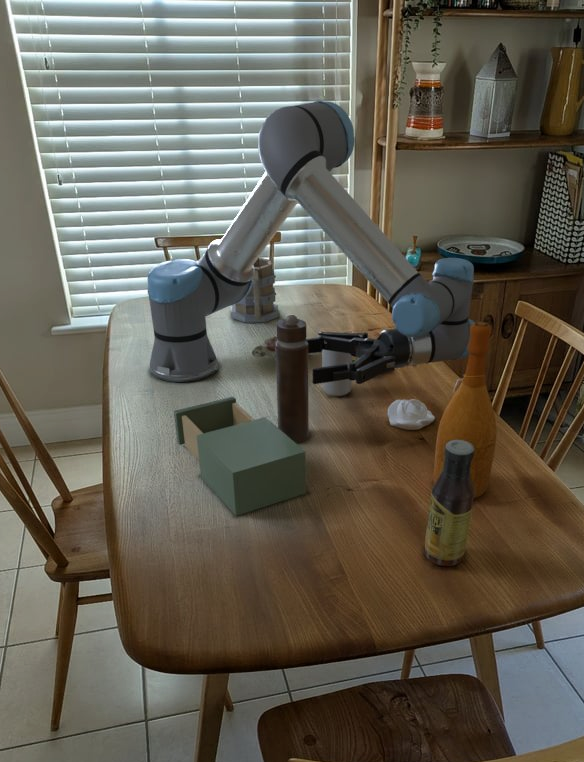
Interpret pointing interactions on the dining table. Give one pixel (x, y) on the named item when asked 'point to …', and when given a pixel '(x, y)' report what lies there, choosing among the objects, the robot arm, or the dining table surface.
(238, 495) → the cabinet
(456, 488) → the sauce bottle
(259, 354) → the decorative turtle
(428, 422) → the rose
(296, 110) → the robot arm
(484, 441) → the wine bottle
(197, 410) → the drawer
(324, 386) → the beverage can
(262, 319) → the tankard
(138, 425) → the dining table surface
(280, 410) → the pepper mill
